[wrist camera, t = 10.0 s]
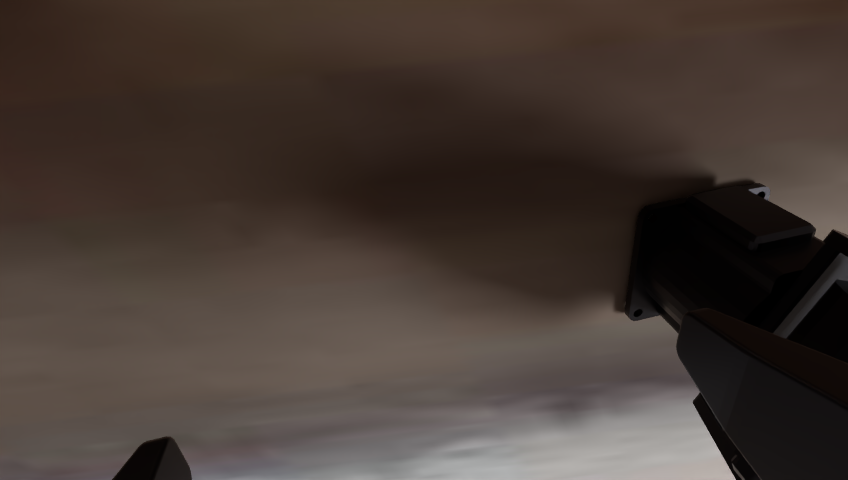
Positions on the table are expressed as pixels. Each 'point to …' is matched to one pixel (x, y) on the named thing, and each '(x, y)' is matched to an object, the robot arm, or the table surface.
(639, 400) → the table surface
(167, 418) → the table surface
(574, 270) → the table surface
